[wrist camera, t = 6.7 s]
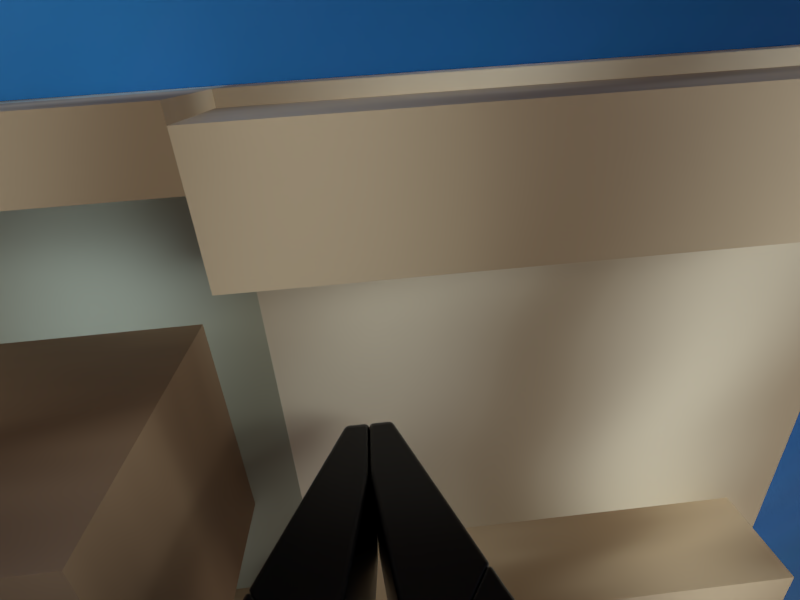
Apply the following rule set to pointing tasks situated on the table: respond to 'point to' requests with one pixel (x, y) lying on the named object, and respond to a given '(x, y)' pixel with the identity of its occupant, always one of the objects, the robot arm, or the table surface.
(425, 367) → the slot board
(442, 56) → the table surface
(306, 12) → the table surface
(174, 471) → the brown cube
